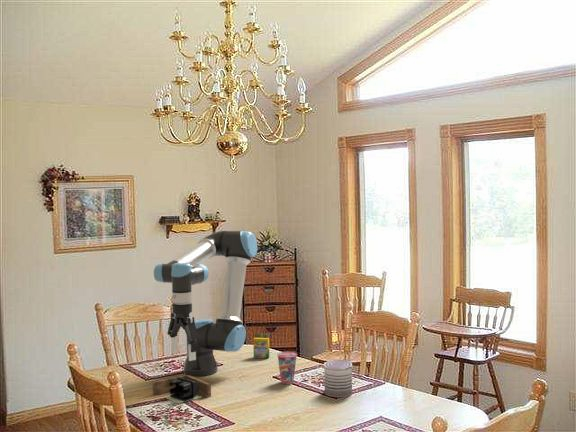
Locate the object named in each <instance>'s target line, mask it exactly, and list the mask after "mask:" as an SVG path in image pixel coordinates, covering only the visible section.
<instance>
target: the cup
mask: <svg viewBox="0 0 576 432" xmlns="http://www.w3.org/2000/svg"><path fill="white" fill-rule="evenodd" d="M297 357H298V353H297V352H293V351H282V352H281V351H280V352H277V358H278V359H277V360H278V370H279V376H280V382H281V384H283V385H292V384H294V379H295V373H296V363H297Z"/></svg>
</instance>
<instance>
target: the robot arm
mask: <svg viewBox="0 0 576 432" xmlns="http://www.w3.org/2000/svg"><path fill="white" fill-rule="evenodd" d="M257 253H258V241H257V238H256V236H255V234H254V233H253V232H252V231H245V230H219V231H216V232H213V233H211V234H209V235H207V236H205V237H203V238H201V239H200V240H199V241H198V242H197V244H196V245H195V246H193V247H191V248H190V249H189V250H187V251H185V252H184V253H181V254H180V255H179V256H177V257H176V258H174V259H172V260H171V261H169V262H168V263H159V264H156V266H155V267H154V269H153V277H154V280H155V281H156V282H157V283H158V282H159V283H164V284H165V283H168V284H169V283H170V284H171V293H172V295H171V301H172V305H171V306H172V310H171V311H172V312H171V313H170V321H169V324H168V329H167V335H168V336H169V337H170V354H171V355H174V354H178V353H179V344H178V343H179V337H178V336H179V335H178V334H179V332H180V329H181V328H182V329H183V330H184V332H185V334H186V358H185V361H184V365H183V371H182V372H183V373H184V375H185V376H186V375H190V376H193V377H202V376H203V377H204V376H209V375H213V374H216V373H217V372H218V364H217V361H216V359H215V358H216V357H215V355H214V351H221V352H227V353H231V352H233V353H235V352H238V351H240V350H241V348H242V347H243V345H244V344H245V341H246V337H247V332H246V327H245V326H244V325H243V320H241V311H242V310H241V309H242V303H243V294H244V286H245V282H246V281H245V280H246V273H247V266H248V265H249V264H250V263H251V261H252V258H254V257H255V256H256V255H257ZM214 257H225V258H224V260H226V262H227V265H226V266H227V267H226V273H225V279H224V280H225V281H224V288H223V294H222V302H221V306H220V307H221V308H220V315H218V317H217V318H216V319H215V323H214V321H213V319H212V318H201V319H197V320H195V317H194V316H191V317H190V314H191V313H192V312H193V303H192V302H193V297H192V296H193V295H192V293H193V292H192V286H194V285H199V284H202V283H204V282H206V281H207V280H208V279H209V275H210V273H209V269H208V267H207V266H206V265H205V264H201V263H202V262H204V261H206V260H207V259H213V258H214Z"/></svg>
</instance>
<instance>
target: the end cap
mask: <svg viewBox="0 0 576 432" xmlns="http://www.w3.org/2000/svg"><path fill="white" fill-rule="evenodd" d="M176 377H177V380H174V381H170V382H169V386H172V385H175V387H174V388H171V389H170V392H169V394H170V395H169V396H170V397H172V398H176V399H179V400H182V401H185V402H188V401H187V400H189V401H191V400H190V399H193V398H194V397H195V396H196V395H198V394H199V393H198V391H199V385H198V383H197V382H195V381H191V380H188V379H184V378H180V377H178V376H176ZM193 400H194V399H193Z"/></svg>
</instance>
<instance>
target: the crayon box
mask: <svg viewBox="0 0 576 432" xmlns="http://www.w3.org/2000/svg"><path fill="white" fill-rule="evenodd" d="M253 359H264V360H265V359H266V360H267V359H268V360H269V359H270V333H254V337H253Z"/></svg>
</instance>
